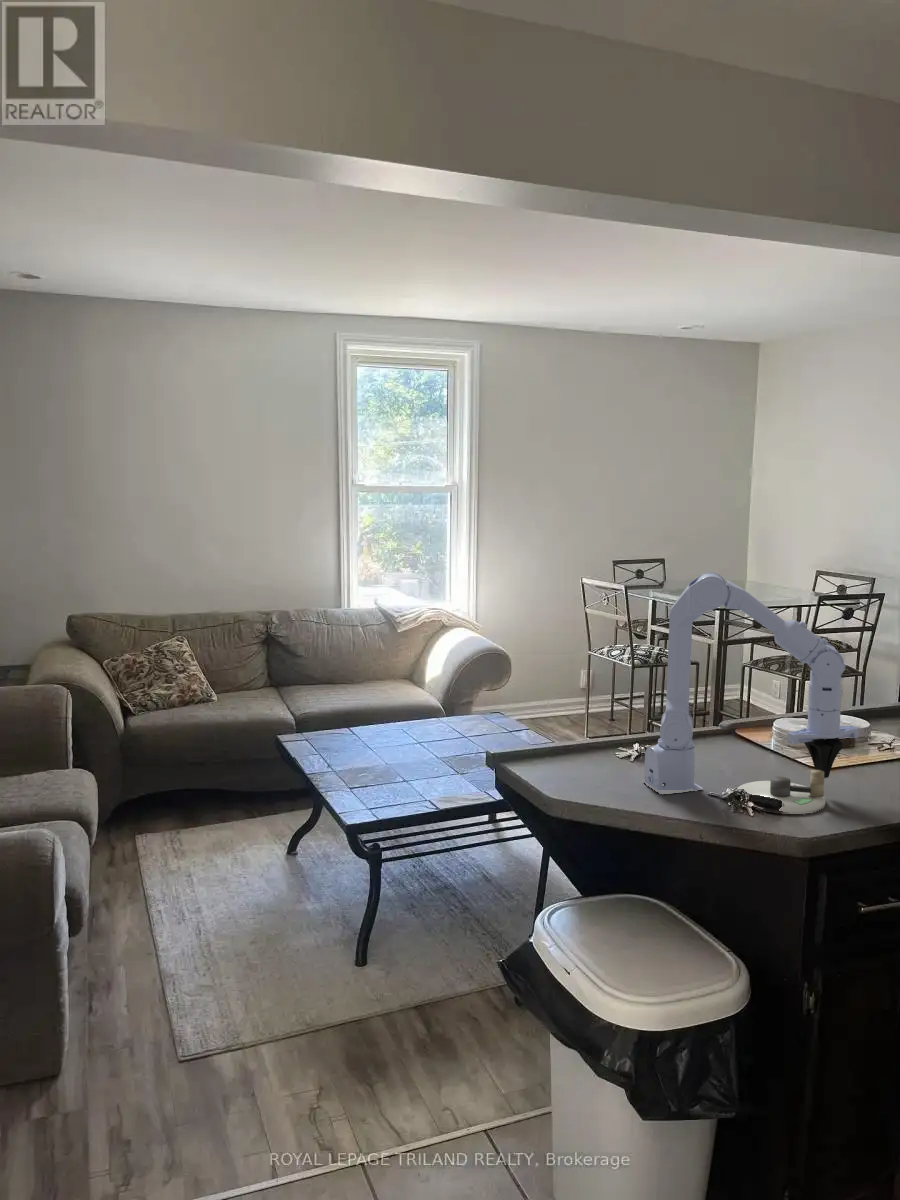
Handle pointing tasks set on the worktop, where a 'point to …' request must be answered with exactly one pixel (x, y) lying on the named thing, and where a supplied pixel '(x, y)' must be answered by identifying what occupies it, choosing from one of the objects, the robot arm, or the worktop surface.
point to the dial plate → (790, 803)
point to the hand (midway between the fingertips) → (822, 776)
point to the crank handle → (783, 788)
